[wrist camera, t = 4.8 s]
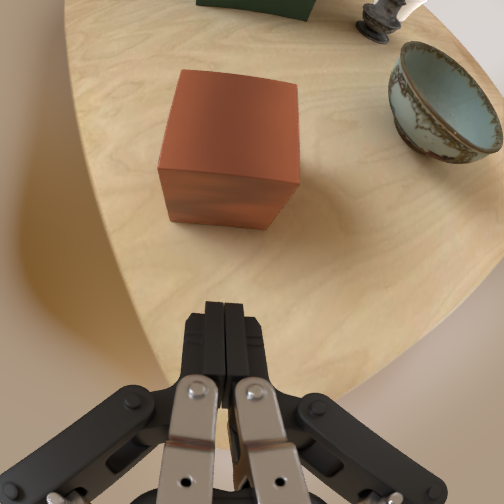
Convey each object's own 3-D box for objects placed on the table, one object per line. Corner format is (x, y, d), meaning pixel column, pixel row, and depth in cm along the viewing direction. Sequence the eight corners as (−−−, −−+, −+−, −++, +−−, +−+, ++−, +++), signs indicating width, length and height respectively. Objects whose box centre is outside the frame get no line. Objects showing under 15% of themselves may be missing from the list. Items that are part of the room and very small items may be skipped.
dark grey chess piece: (348, 16, 32) (380, -43, 20) (381, 26, 33) (416, -27, 22) (361, 39, 31) (399, -25, 19) (396, 49, 32) (437, -7, 20)
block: (169, 221, 21) (156, 168, 14) (183, 139, 23) (181, 68, 15) (266, 230, 22) (300, 184, 15) (269, 149, 24) (297, 84, 16)
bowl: (433, 211, 26) (490, 180, 18) (339, 109, 27) (377, 55, 19) (469, 151, 30) (510, 121, 22) (397, 72, 30) (428, 32, 23)
